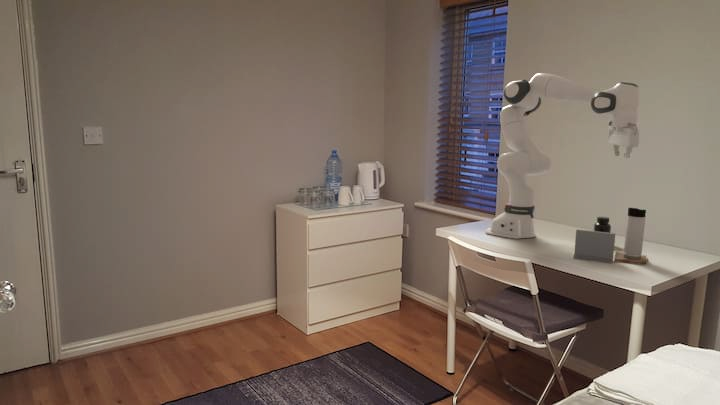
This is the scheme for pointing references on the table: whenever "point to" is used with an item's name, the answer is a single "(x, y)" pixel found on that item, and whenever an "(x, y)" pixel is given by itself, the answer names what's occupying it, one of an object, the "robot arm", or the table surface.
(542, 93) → the robot arm
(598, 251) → the slate screen
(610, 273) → the table surface
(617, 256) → the walnut pad
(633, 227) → the travel mug
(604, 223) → the supplement bottle
